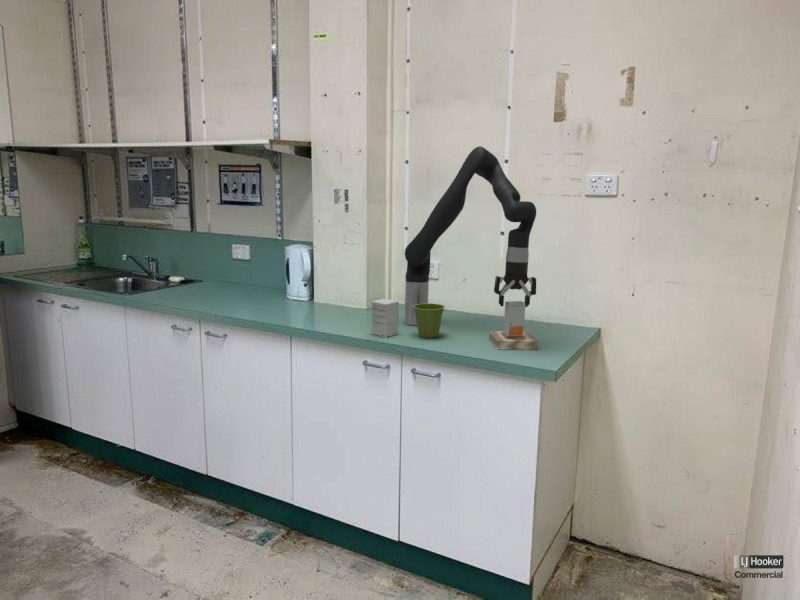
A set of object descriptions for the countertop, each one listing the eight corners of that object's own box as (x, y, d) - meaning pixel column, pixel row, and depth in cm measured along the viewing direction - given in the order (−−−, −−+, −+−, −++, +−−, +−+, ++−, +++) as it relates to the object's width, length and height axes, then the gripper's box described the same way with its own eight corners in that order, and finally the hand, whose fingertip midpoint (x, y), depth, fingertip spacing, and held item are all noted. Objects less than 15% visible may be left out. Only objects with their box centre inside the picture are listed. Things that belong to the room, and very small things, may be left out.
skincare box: (507, 337, 203) (509, 303, 200) (502, 334, 207) (504, 301, 204) (523, 336, 204) (525, 303, 202) (518, 333, 208) (520, 300, 206)
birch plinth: (497, 349, 199) (497, 340, 198) (489, 338, 212) (489, 330, 212) (537, 349, 199) (538, 340, 199) (526, 339, 213) (527, 330, 212)
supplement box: (383, 330, 222) (384, 298, 219) (398, 334, 217) (399, 301, 215) (370, 334, 216) (371, 301, 214) (385, 337, 211) (386, 303, 209)
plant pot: (440, 331, 222) (441, 302, 220) (447, 339, 210) (448, 309, 208) (409, 332, 220) (410, 303, 218) (415, 340, 209) (415, 309, 207)
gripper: (498, 261, 196) (495, 308, 199) (540, 262, 196) (536, 308, 200) (494, 258, 203) (491, 303, 206) (534, 259, 204) (531, 304, 207)
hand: (513, 306), depth 203 cm, fingers open, 8 cm apart
